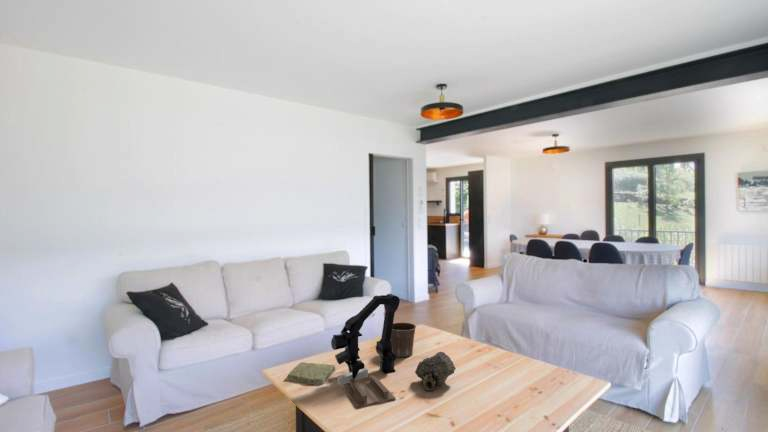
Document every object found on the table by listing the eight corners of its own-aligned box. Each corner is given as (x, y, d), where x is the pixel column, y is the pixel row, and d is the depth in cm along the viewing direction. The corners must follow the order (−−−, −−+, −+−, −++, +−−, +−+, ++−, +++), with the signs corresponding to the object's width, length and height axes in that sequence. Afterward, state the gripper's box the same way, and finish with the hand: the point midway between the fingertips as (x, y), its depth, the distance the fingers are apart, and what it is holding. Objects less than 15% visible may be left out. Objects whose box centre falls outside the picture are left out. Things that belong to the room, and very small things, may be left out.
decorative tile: (300, 367, 208) (300, 360, 208) (335, 370, 204) (335, 363, 204) (284, 383, 190) (284, 375, 190) (323, 386, 186) (322, 379, 185)
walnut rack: (378, 381, 189) (378, 373, 189) (395, 399, 171) (395, 391, 171) (343, 388, 183) (343, 379, 182) (356, 408, 164) (356, 399, 164)
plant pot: (390, 348, 235) (389, 321, 234) (416, 349, 232) (416, 322, 232) (386, 358, 218) (386, 330, 218) (415, 359, 216) (415, 331, 216)
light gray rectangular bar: (364, 374, 198) (364, 367, 198) (368, 377, 195) (367, 369, 195) (337, 383, 188) (336, 376, 188) (340, 385, 186) (340, 378, 186)
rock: (440, 343, 193) (436, 348, 179) (460, 368, 189) (457, 375, 175) (413, 366, 195) (406, 373, 181) (432, 391, 191) (427, 400, 176)
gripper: (331, 342, 197) (331, 372, 197) (342, 354, 180) (342, 388, 180) (352, 339, 201) (352, 368, 201) (364, 351, 184) (365, 383, 184)
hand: (352, 377), depth 192 cm, fingers closed on light gray rectangular bar, 4 cm apart
